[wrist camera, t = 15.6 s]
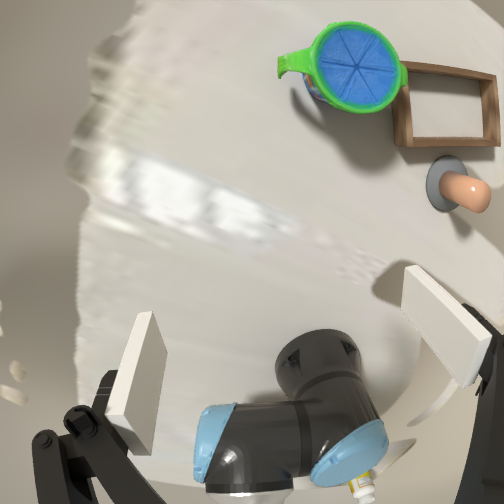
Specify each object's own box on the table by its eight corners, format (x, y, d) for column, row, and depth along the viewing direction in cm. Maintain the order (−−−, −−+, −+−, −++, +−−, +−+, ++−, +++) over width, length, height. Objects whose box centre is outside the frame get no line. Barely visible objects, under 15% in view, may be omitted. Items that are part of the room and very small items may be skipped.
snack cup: (384, 55, 36) (423, 43, 27) (377, 124, 40) (416, 128, 31) (274, 30, 34) (290, 5, 25) (266, 105, 38) (280, 100, 29)
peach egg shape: (458, 197, 44) (489, 211, 37) (438, 199, 44) (469, 214, 37) (459, 170, 43) (491, 181, 35) (438, 171, 42) (471, 182, 35)
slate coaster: (464, 207, 46) (467, 208, 45) (425, 212, 46) (427, 214, 45) (466, 155, 42) (468, 155, 42) (425, 156, 42) (427, 157, 42)
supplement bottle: (352, 474, 77) (363, 507, 65) (340, 471, 75) (351, 506, 63) (370, 464, 75) (382, 497, 64) (358, 460, 73) (371, 495, 62)
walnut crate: (487, 143, 42) (500, 146, 38) (395, 144, 41) (407, 147, 38) (482, 75, 37) (496, 75, 34) (386, 63, 36) (398, 60, 33)
